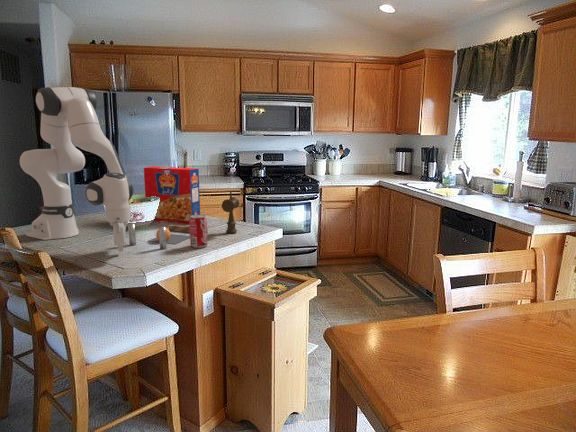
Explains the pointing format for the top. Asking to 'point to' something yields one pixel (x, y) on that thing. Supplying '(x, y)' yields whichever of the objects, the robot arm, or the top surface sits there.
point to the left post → (132, 234)
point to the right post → (162, 237)
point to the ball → (166, 234)
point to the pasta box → (173, 192)
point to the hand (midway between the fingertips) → (121, 250)
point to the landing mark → (172, 239)
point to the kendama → (230, 212)
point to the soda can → (198, 231)
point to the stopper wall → (179, 228)
